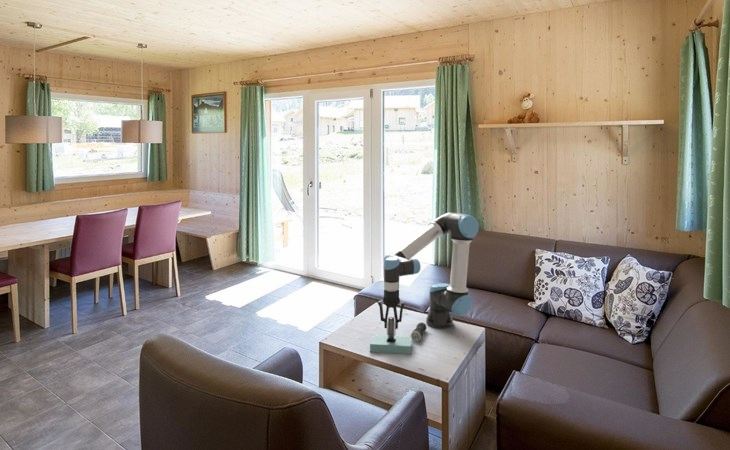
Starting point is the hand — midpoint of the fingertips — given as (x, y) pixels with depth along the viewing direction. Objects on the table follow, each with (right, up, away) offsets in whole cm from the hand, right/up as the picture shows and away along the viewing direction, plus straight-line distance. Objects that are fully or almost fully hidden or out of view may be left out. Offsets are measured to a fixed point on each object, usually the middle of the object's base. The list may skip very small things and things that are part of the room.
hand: (391, 334), depth 221 cm
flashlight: (+16, -5, +16) cm, 23 cm away
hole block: (0, -7, +1) cm, 7 cm away
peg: (0, -6, +1) cm, 6 cm away
